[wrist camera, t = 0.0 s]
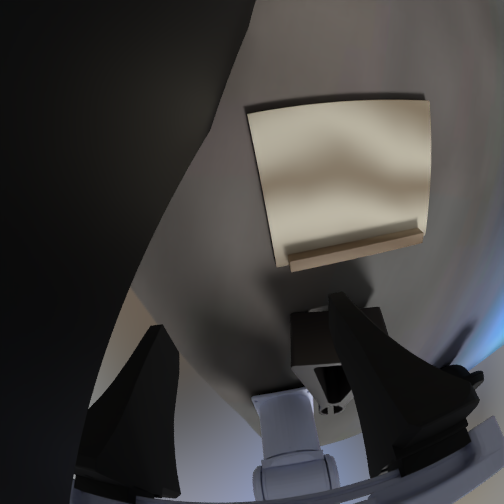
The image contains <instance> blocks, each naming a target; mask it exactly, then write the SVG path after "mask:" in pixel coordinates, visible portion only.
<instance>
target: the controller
mask: <svg viewBox="0 0 504 504" xmlns="http://www.w3.org/2000/svg"><path fill="white" fill-rule="evenodd" d="M441 370H442V371H444V372H447V373H449V374H451V375H454V376H456V377H459V378H461V379H464V380H467V381H469V382H470V383H471V385H472V386H473V388H474V389H476V388H477V387H478V386H479V385H480V384H481V383H482V382H483V381H484V375H483V371H476V372H473V373H471V374H470V373H469V372H468V371H467V369H466V368H464V367H463V366H461V365H450V366H446V367H444V368H442V369H441Z"/></svg>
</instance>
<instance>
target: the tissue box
mask: <svg viewBox="0 0 504 504" xmlns="http://www.w3.org/2000/svg"><path fill="white" fill-rule="evenodd" d="M255 1H256V0H0V504H69V503H70V495H71V488H72V482H73V475H74V470H75V464H76V459H77V454H78V449H79V444H80V440H81V435H82V431H83V427H84V423H85V419H86V415H87V411H88V407H89V403H90V400H91V396H92V393H93V389H94V386H95V383H96V379H97V376H98V372H99V370H100V367H101V363H102V360H103V357H104V354H105V351H106V348H107V345H108V343H109V339H110V337H111V334H112V331H113V329H114V326H115V323H116V320H117V318H118V315H119V313H120V310H121V308H122V305H123V303H124V300H125V298H126V295H127V293H128V290H129V288H130V285H131V283H132V281H133V278H134V276H135V274H136V271H137V269H138V267H139V265H140V262H141V260H142V258H143V256H144V253H145V251H146V249H147V247H148V245H149V243H150V240H151V238H152V236H153V234H154V232H155V230H156V228H157V226H158V224H159V222H160V220H161V218H162V216H163V214H164V212H165V210H166V208H167V206H168V204H169V202H170V200H171V198H172V196H173V194H174V193H175V191H176V189H177V187H178V185H179V183H180V181H181V180H182V178H183V176H184V174H185V172H186V171H187V169H188V167H189V165H190V163H191V162H192V160H193V158H194V156H195V155H196V153H197V151H198V150H199V148H200V146H201V145H202V143H203V141H204V140H205V138H206V136H207V135H208V133H209V131H210V129H211V126H212V123H213V120H214V117H215V114H216V111H217V108H218V105H219V102H220V99H221V97H222V94H223V91H224V88H225V85H226V83H227V80H228V77H229V75H230V72H231V69H232V67H233V64H234V61H235V59H236V56H237V54H238V51H239V49H240V46H241V44H242V41H243V39H244V37H245V34H246V32H247V30H248V27H249V23H250V19H251V15H252V12H253V8H254V4H255Z"/></svg>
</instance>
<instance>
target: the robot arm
mask: <svg viewBox="0 0 504 504" xmlns="http://www.w3.org/2000/svg"><path fill="white" fill-rule="evenodd" d="M328 296H329V330H330V333H331V337H332V340H333V344H334V347H335V350H336V352H337V355H338V357H339V360H340V362H341V365H342V367H343V370H344V372H345V375H346V377H347V380H348V382H349V385H350V387H351V390H352V393H353V396H354V400H355V404H356V408H357V412H358V416H359V420H360V424H361V429H362V433H363V438H364V444H365V449H366V455H367V460H368V468H369V474H370V478H371V479H368V480H364V481H361V482H358V483H354V484H351V485H347V486H344V487H340V481H339V475H338V470H337V466H336V462H335V460H334V458H333V457H332V456H330V455H329V454H326V455H323V450H321V449H320V444H319V439H318V434H317V429H316V425H315V420H314V415H313V414H314V410H313V396H312V395H311V393H310V392H309V391H308V390H307V388H306V387H301V388H297V389H291V390H286V391H281V392H275V393H269V394H263V395H256V396H252V397H251V398H252V402H253V404H254V406H255V408H256V411H257V413H258V415H259V417H260V424H261V434H262V444H263V453H264V460H262V461H261V462H262V466H258V467H257V468H256V469H255V470H254V472H253V490H254V496H255V500H256V501H254V502H234V503H201V502H200V503H199V502H182V501H171V500H161V499H154V497H156V498H162V497H166V498H177V497H178V496H180V494H181V492H180V487H179V481H178V475H177V469H176V459H175V447H174V411H175V403H176V395H177V387H178V379H179V351H178V350H177V348H176V347H175V345H174V343H173V341H172V340H171V338H170V336H169V335H168V333H167V331H166V329H165V328H164V326H163V324H161V325H154V326H150V328H149V329H148V330H147V332H146V334H145V335H144V337H143V338H142V340H141V341H140V343H139V344H138V346H137V348H136V349H135V351H134V352H133V354H132V355H131V357H130V358H129V360H128V361H127V363H126V364H125V366H124V367H123V368H122V370H121V371H120V373H119V374H118V376H117V377H116V378H115V380H114V381H113V382H112V384H111V385H110V386H109V387H108V389H107V390H106V391H105V392H104V393H103V394H102V396H101V397H100V398H99V399H98V400H97V401H96V402H95V403H94V404H93V405H92V406H91V407H90V408H89V409H88V411H87V415H86V419H85V423H84V427H83V431H82V435H81V440H80V444H79V449H78V454H77V459H76V464H75V470H74V474H75V475H76V478H75V479H73V482H72V488H71V495H70V503H69V504H340V503H342V502H345V501H349V500H353V499H356V498H360V497H363V496H366V495H369V494H371V495H370V496H369V497H368V500H364V501H361V502H358V503H355V504H453V503H454V502H456V501H458V500H459V499H461V498H462V497H464V496H465V495H467V494H468V493H469V492H471V491H472V490H474V489H475V488H477V487H478V486H479V485H480V484H482V483H483V482H485V481H486V480H487V479H489V478H490V477H492V476H493V475H494V474H495V473H497V472H498V471H499V470H501V469H502V468H503V467H504V437H503V435H502V432H501V430H500V427H499V425H498V423H497V421H496V419H495V416H491V417H490V418H488V419H487V420H485V421H484V422H482V423H481V424H479V425H478V426H476V427H474V428H473V429H472V430H470V431H469V432H467V429H466V427H467V426H468V423H467V420H466V417H467V416H468V415H469V414H470V413H471V412H472V411H473V410H474V409H475V408H476V406H477V405H478V403H479V401H480V399H479V398H478V396H477V394H476V392H475V389H474V388H473V386H472V385H471V383H470V382H469V381H467V380H464V379H461V378H459V377H456V376H454V375H451V374H449V373H447V372H444V371H442V370H440V369H438V368H436V367H434V366H433V365H431V364H429V363H427V362H426V361H424V360H422V359H420V358H419V357H417V356H416V355H414V354H413V353H411V352H410V351H408V350H407V349H405V348H404V347H402V346H401V345H400V344H398V343H397V342H396V341H394V340H393V339H392V338H391V337H389V336H388V335H387V334H386V333H385V332H383V331H382V330H381V329H380V328H379V327H378V326H377V325H376V324H375V323H373V322H372V321H371V320H370V319H369V318H368V317H367V316H366V315H365V314H364V313H363V312H362V311H361V310H360V309H359V308H358V307H357V306H356V305H355V304H354V303H353V302H352V301H351V299H350V298H349V297H348V296H347V295H346V294H345V293H344V292H338V293H333V294H329V295H328Z"/></svg>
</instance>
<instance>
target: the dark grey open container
mask: <svg viewBox="0 0 504 504" xmlns="http://www.w3.org/2000/svg"><path fill="white" fill-rule="evenodd" d="M360 310H361V311H362V312H363V313H364V314H365V315H366V316H367V317H368V318H369V319H370V320H371V321H372V322H373V323H375V324H376V325H377V326H378V327H379V328H380V329H381V330H382V331H383V332H385V333H386V334H387V335H388V332H387V329H386V326H385V322H384V319H383V316H382V313H381V310H380V307H371V308H361V309H360ZM290 322H291V369H292V371H293V372H294V373H295V375H296V376H297V377H298V378H299V380H300V381H301V382H302V383H303V385H304V386H305V387H306V388H307V390H308V391H309V392H310V393H311V395H312V396H313V397H314V398H315V400H316V401H317V402H318V404H319V413H320V414H322V415H328V410H327V407H328V406H330V407H331V406H333V405H334V414H338V413H341V412H343V411H344V410H345V406H346V404H347V403H348V402H349V401H350V400H352V399H353V398H354V396H353V393H352V390H351V387H350V385H349V382H348V380H347V377H346V375H345V372H344V370H343V367H342V365H341V362H340V360H339V357H338V355H337V352H336V350H335V347H334V344H333V340H332V337H331V333H330V330H329V311H322V312H306V313H292V314H291V315H290Z"/></svg>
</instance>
